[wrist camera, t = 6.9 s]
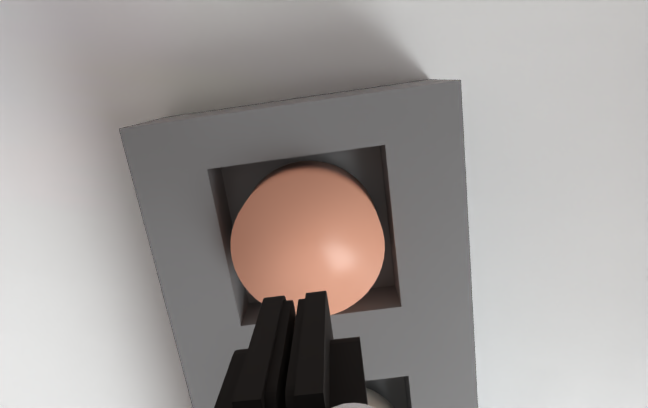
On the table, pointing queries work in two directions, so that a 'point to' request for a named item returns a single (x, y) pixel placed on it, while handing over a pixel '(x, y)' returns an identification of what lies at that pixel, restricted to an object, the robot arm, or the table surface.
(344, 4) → the table surface
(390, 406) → the button cream
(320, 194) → the button terracotta
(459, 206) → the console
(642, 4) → the table surface
